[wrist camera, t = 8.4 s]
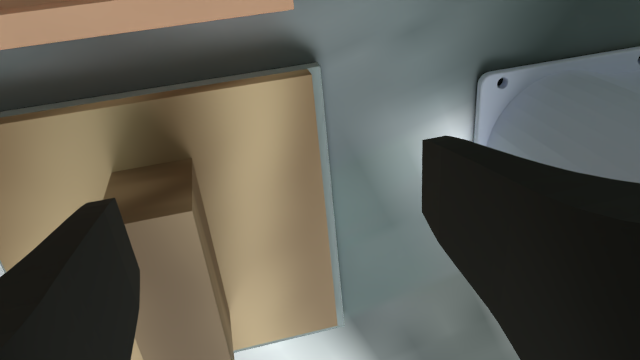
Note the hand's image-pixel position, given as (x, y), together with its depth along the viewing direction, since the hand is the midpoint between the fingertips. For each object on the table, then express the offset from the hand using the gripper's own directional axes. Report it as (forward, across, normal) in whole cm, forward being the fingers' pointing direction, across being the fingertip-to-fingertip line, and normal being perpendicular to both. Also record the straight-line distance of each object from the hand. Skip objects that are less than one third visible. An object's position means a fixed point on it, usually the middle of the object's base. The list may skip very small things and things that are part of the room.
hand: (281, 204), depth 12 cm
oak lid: (+9, +4, +6) cm, 11 cm away
